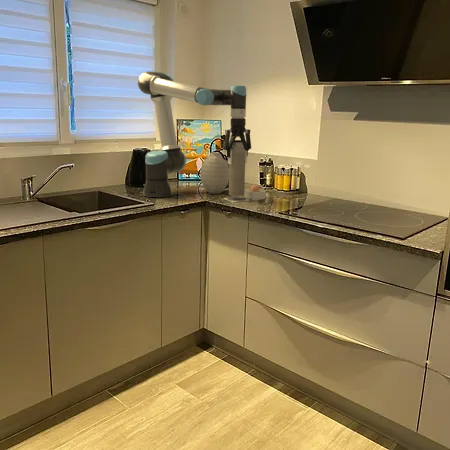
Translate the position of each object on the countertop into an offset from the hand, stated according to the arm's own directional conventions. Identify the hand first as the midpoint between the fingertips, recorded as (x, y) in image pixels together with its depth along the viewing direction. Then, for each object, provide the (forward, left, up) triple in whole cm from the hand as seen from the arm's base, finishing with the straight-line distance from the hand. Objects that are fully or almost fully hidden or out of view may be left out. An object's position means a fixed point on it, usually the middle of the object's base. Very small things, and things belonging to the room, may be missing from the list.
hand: (237, 163), depth 238 cm
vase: (-23, 0, -19) cm, 30 cm away
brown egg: (+1, +11, -16) cm, 20 cm away
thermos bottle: (0, 0, -16) cm, 16 cm away
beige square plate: (0, 0, -19) cm, 19 cm away
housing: (+1, +11, -19) cm, 22 cm away
